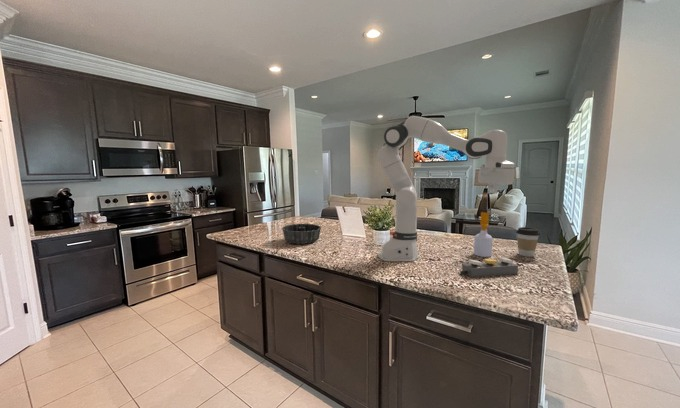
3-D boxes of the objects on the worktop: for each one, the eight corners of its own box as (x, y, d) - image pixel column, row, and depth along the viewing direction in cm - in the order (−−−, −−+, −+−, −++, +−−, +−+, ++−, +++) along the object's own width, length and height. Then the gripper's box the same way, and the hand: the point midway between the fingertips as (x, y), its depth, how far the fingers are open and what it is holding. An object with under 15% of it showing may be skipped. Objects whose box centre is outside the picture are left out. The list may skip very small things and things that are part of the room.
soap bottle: (473, 255, 160) (475, 212, 157) (474, 251, 168) (476, 210, 165) (491, 258, 156) (494, 213, 153) (491, 253, 164) (494, 211, 161)
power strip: (465, 277, 127) (465, 268, 127) (456, 272, 134) (456, 263, 134) (517, 273, 132) (518, 264, 132) (506, 268, 139) (506, 259, 139)
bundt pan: (328, 239, 199) (328, 225, 197) (305, 248, 176) (304, 232, 175) (299, 235, 212) (299, 222, 211) (274, 243, 190) (273, 228, 189)
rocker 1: (472, 264, 130) (473, 261, 129) (468, 261, 133) (468, 259, 133) (482, 265, 131) (482, 263, 130) (477, 263, 134) (478, 260, 134)
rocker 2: (487, 263, 131) (488, 260, 131) (483, 261, 134) (483, 258, 134) (497, 263, 132) (497, 261, 132) (492, 261, 135) (492, 259, 135)
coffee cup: (531, 252, 167) (533, 227, 165) (542, 258, 155) (545, 231, 154) (510, 251, 168) (512, 226, 166) (520, 257, 156) (522, 230, 155)
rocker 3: (503, 261, 132) (504, 259, 132) (498, 259, 136) (498, 257, 135) (512, 263, 133) (513, 260, 133) (507, 261, 137) (507, 258, 137)
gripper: (475, 164, 146) (473, 191, 148) (505, 163, 126) (503, 195, 128) (486, 164, 147) (484, 191, 149) (517, 163, 127) (515, 194, 129)
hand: (493, 193), depth 138 cm, fingers closed
